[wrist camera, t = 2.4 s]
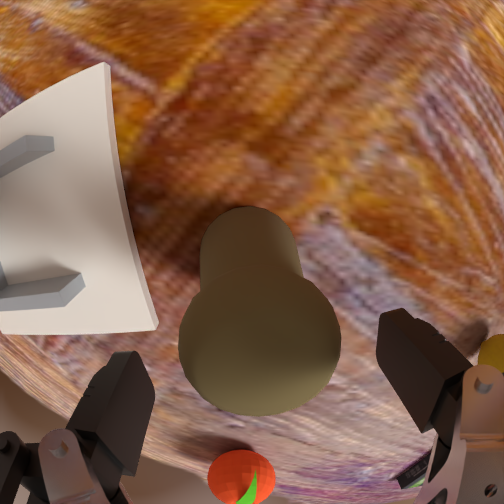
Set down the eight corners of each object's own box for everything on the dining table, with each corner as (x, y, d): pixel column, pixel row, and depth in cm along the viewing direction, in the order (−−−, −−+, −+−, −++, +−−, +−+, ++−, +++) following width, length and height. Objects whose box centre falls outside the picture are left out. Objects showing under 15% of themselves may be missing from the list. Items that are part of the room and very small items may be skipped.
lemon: (459, 358, 22) (498, 401, 15) (487, 316, 21) (532, 354, 13) (476, 365, 23) (510, 402, 16) (501, 328, 22) (539, 362, 14)
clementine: (218, 428, 23) (216, 489, 16) (285, 436, 24) (295, 492, 17) (203, 461, 25) (200, 511, 18) (260, 468, 26) (265, 515, 19)
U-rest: (-37, 152, 13) (-65, 156, 9) (110, 66, 13) (81, 46, 9) (7, 329, 19) (-14, 349, 15) (158, 322, 19) (144, 356, 15)
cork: (275, 308, 19) (309, 446, 8) (188, 281, 18) (143, 415, 7) (310, 226, 17) (406, 316, 7) (217, 192, 16) (182, 245, 6)
